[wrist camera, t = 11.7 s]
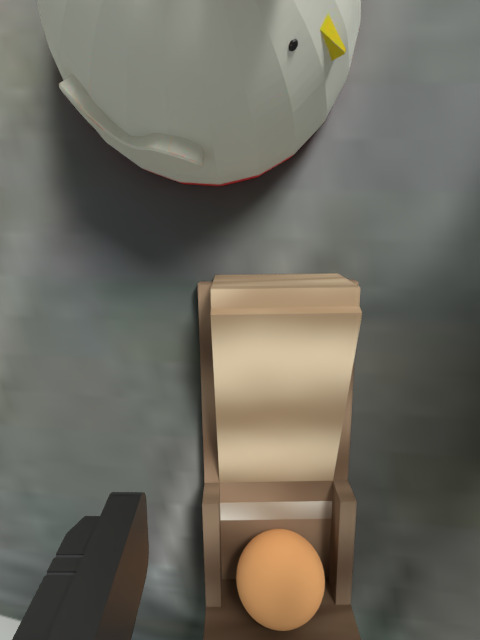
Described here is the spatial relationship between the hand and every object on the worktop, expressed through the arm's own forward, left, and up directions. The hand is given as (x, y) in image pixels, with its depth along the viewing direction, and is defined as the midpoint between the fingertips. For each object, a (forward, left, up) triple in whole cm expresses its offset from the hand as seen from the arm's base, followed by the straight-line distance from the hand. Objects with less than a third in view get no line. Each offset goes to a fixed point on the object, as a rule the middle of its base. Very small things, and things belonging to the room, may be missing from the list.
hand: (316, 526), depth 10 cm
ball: (+13, 0, -12) cm, 18 cm away
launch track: (+6, 0, -17) cm, 19 cm away
